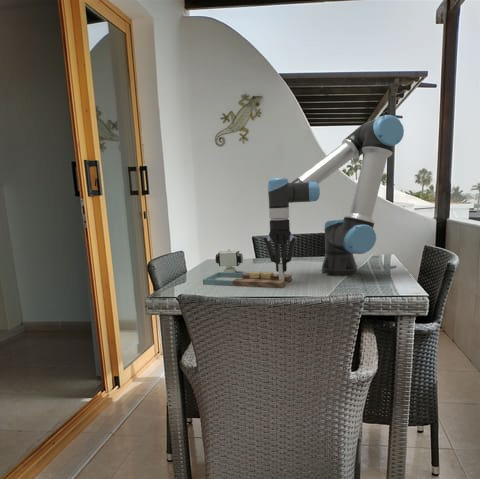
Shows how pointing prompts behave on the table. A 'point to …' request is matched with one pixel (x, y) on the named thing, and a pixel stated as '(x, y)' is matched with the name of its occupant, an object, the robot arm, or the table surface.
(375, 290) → the table surface
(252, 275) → the chip
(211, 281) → the tray
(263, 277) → the chip
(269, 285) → the slot board
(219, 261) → the pneumatic valve
